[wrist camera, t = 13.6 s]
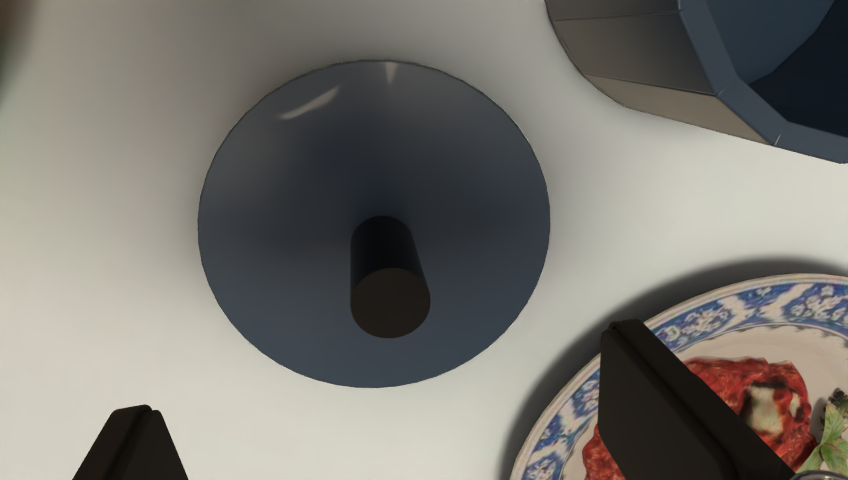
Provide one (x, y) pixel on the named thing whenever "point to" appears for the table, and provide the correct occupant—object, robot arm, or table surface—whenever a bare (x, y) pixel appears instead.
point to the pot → (721, 64)
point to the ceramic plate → (728, 377)
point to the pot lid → (373, 223)
